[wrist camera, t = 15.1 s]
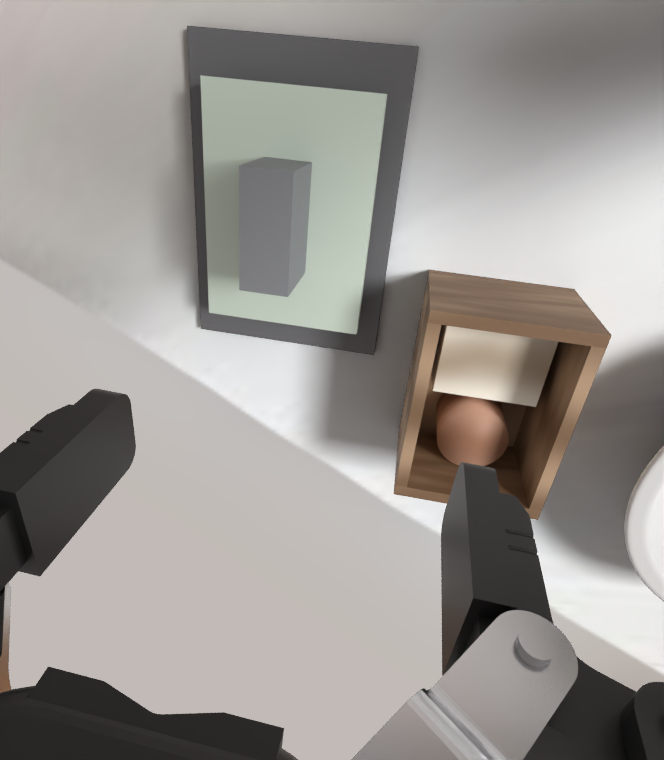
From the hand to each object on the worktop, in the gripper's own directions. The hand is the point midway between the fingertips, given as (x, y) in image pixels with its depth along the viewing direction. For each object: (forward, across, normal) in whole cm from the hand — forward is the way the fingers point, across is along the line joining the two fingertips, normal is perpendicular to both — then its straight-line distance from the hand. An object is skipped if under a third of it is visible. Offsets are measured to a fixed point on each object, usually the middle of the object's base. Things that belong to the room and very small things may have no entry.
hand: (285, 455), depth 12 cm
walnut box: (+26, -9, +10) cm, 29 cm away
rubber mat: (+26, +6, 0) cm, 27 cm away
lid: (+24, +6, 0) cm, 25 cm away
